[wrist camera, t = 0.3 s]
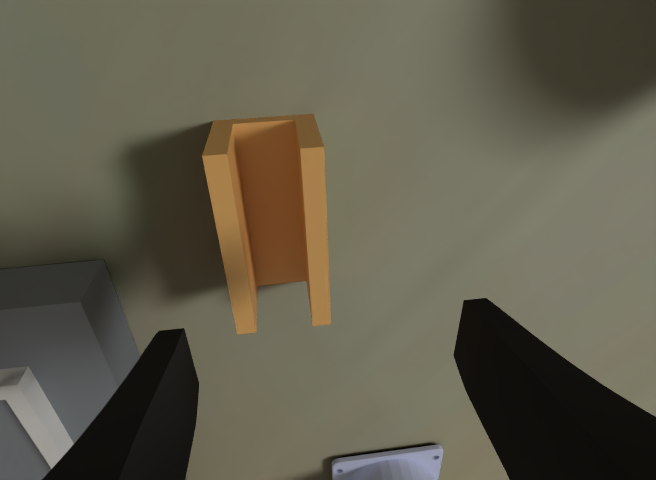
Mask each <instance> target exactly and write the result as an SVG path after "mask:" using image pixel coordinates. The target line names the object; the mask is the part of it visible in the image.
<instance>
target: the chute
mask: <svg viewBox="0 0 656 480" xmlns="http://www.w3.org/2000/svg"><path fill="white" fill-rule="evenodd" d="M202 158H203V163H204V168H205V173H206V178H207V183H208V188H209V193H210V198H211V204H212V209H213V214H214V219H215V224H216V229H217V234H218V239H219V244H220V249H221V254H222V259H223V264H224V269H225V274H226V279H227V284H228V289H229V294H230V299H231V305H232V310H233V315H234V320H235V325H236V330H237V335H238V334H247V333H256V329H257V286H261V285H271V284H281V283H291V282H301V281H307V288H308V296H309V303H310V311H311V318H312V326H319V325H328V324H331V312H330V285H329V259H328V233H327V207H326V181H325V155H324V145H323V142H322V139H321V136H320V133H319V129H318V126H317V123H316V120H315V117H314V114H306V115H291V116H276V117H262V118H247V119H232V120H218V121H213V124H212V127H211V130H210V133H209V136H208V139H207V142H206V145H205V149H204V152H203V155H202Z"/></svg>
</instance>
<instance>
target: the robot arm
mask: <svg viewBox="0 0 656 480" xmlns="http://www.w3.org/2000/svg"><path fill="white" fill-rule="evenodd" d="M454 358H455V361H456V364H457V367H458V370H459V373H460V376H461V379H462V381H463V384H464V387H465V390H466V392H467V394H468V396H469V398H470V400H471V402H472V404H473V406H474V408H475V411H476V413H477V415H478V417H479V419H480V421H481V423H482V425H483V427H484V429H485V431H486V433H487V435H488V437H489V439H490V441H491V443H492V445H493V447H494V449H495V451H496V453H497V455H498V457H499V459H500V461H501V463H502V465H503V467H504V469H505V470H506V473H507V475H508V477H509V479H510V480H656V417H655V416H653V415H651V414H650V413H648V412H646V411H645V410H643V409H641V408H640V407H638V406H636V405H635V404H633V403H631V402H630V401H628V400H626V399H625V398H623V397H621V396H620V395H618V394H616V393H615V392H613V391H612V390H610V389H608V388H607V387H605V386H604V385H602V384H601V383H599V382H598V381H596V380H595V379H593V378H592V377H590V376H589V375H588V374H586V373H585V372H583V371H582V370H580V369H579V368H577V367H576V366H574V365H573V364H572V363H570V362H569V361H567V360H566V359H565V358H563V357H562V356H560V355H559V354H558V353H556V352H555V351H554V350H552V349H551V348H550V347H548V346H547V345H546V344H544V343H543V342H542V341H540V340H539V339H538V338H537V337H535V336H534V335H533V334H531V333H530V332H529V331H528V330H526V329H525V328H524V327H523V326H521V325H520V324H519V323H517V322H516V321H515V320H514V319H512V318H511V317H510V316H509V315H507V314H506V313H505V312H504V311H502V310H501V309H500V308H499V307H497V306H496V305H495V304H493V303H492V302H491V301H489V300H488V299H487V298H482V299H472V300H464V302H463V308H462V313H461V318H460V324H459V329H458V334H457V340H456V345H455V350H454ZM198 392H199V382H198V378H197V374H196V371H195V367H194V363H193V359H192V356H191V352H190V348H189V345H188V341H187V337H186V333H185V330H184V328H183V329H173V330H163V331H159V332H158V333H157V334H156V335H155V336H154V338H153V339H152V341H151V342H150V343H149V345H148V346H147V348H146V349H145V351H144V352H143V354H142V355H141V357H140V358H139V360H138V361H137V362H136V364H135V365H134V367H133V368H132V370H131V371H130V372H129V374H128V375H127V377H126V378H125V379H124V381H123V382H122V383H121V385H120V386H119V387H118V389H117V390H116V392H115V393H114V394H113V396H112V397H111V398H110V400H109V401H108V402H107V404H106V405H105V406H104V407H103V409H102V410H101V411H100V413H99V414H98V415H97V416H96V417H95V419H94V420H93V421H92V422H91V424H90V425H89V426H88V427H87V429H86V430H85V431H84V432H83V433H82V435H81V436H80V437H79V438H78V440H77V441H76V442H75V443H74V444H73V445H72V447H71V448H70V449H69V450H68V451H67V452H66V454H65V455H64V456H63V457H62V458H61V459H60V460H59V461H58V463H57V464H56V465H55V466H54V467H53V468H52V469H51V470H50V471H49V472H48V473H47V474H46V476H45V477H44V478H43V479H42V480H185V477H186V472H187V467H188V462H189V457H190V452H191V447H192V442H193V437H194V431H195V426H196V417H197V406H198ZM442 456H443V449H442V447H441V446H440V445H430V446H423V447H415V448H408V449H401V450H394V451H386V452H379V453H372V454H365V455H357V456H350V457H343V458H337V459H334V460H333V461H332V463H331V466H332V480H438V477H439V472H440V467H441V461H442Z"/></svg>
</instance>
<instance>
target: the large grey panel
mask: <svg viewBox="0 0 656 480" xmlns="http://www.w3.org/2000/svg"><path fill="white" fill-rule="evenodd" d="M139 358H140V355H139V352H138V350H137V347H136V344H135V342H134V339H133V336H132V334H131V331H130V329H129V326H128V323H127V321H126V318H125V315H124V313H123V310H122V307H121V305H120V302H119V299H118V297H117V294H116V291H115V289H114V286H113V283H112V281H111V278H110V276H109V273H108V270H107V268H106V265H105V262H104V260H93V261H83V262H72V263H61V264H51V265H40V266H29V267H19V268H8V269H0V480H42V479H43V478H44V477H45V476H46V474H47V473H48V472H49V471H50V470H51V469H52V468H53V467H54V466H55V465H56V464H57V463H58V461H59V460H60V459H61V458H62V457H63V456H64V455H65V454H66V452H67V451H68V450H69V449H70V448H71V447H72V445H73V444H74V443H75V442H76V441H77V440H78V438H79V437H80V436H81V435H82V433H83V432H84V431H85V430H86V429H87V427H88V426H89V425H90V424H91V422H92V421H93V420H94V419H95V417H96V416H97V415H98V414H99V413H100V411H101V410H102V409H103V407H104V406H105V405H106V404H107V402H108V401H109V400H110V398H111V397H112V396H113V394H114V393H115V392H116V390H117V389H118V387H119V386H120V385H121V383H122V382H123V381H124V379H125V378H126V377H127V375H128V374H129V372H130V371H131V370H132V368H133V367H134V365H135V364H136V362H137V361H138V360H139ZM185 480H186V477H185Z"/></svg>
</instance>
